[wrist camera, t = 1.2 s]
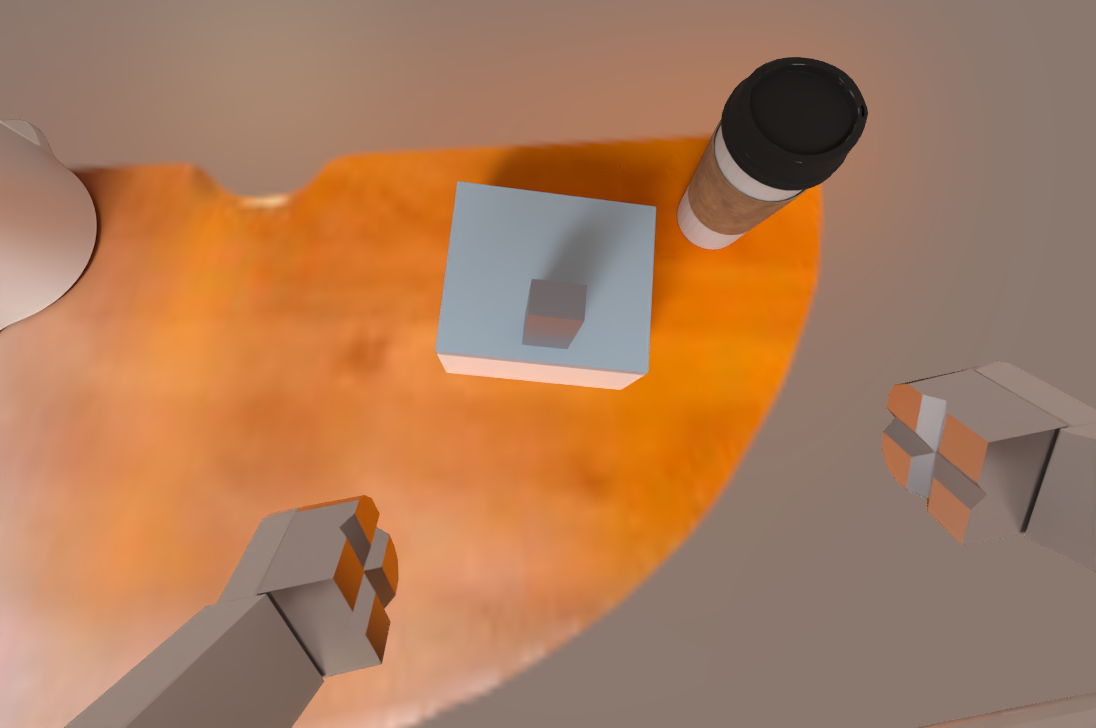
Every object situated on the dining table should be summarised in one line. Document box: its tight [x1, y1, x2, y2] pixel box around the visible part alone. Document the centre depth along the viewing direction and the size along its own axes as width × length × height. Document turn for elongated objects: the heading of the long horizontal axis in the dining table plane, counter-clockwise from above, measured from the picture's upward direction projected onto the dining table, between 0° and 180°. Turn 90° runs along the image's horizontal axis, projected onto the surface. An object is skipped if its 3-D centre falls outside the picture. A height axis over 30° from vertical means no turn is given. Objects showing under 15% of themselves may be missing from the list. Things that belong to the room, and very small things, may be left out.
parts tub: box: [437, 354, 644, 390], centre depth 40 cm, size 14×12×7 cm
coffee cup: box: [677, 57, 868, 249], centre depth 39 cm, size 8×8×15 cm
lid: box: [435, 181, 656, 375], centre depth 33 cm, size 14×12×9 cm
